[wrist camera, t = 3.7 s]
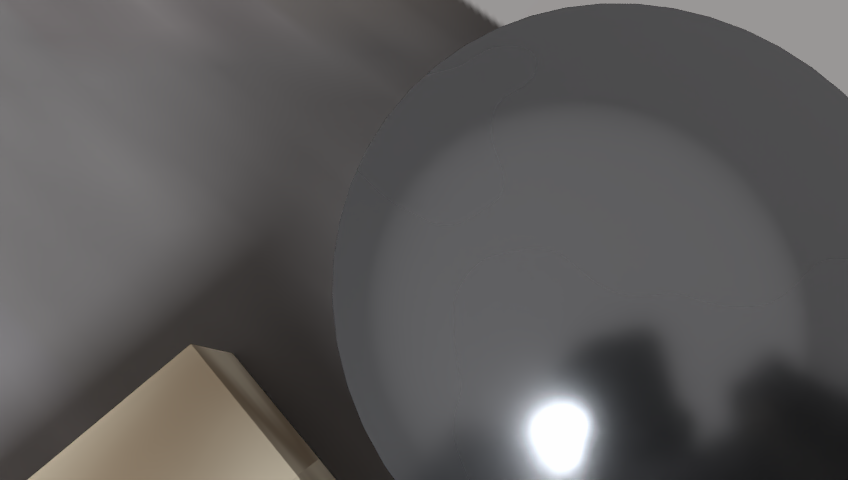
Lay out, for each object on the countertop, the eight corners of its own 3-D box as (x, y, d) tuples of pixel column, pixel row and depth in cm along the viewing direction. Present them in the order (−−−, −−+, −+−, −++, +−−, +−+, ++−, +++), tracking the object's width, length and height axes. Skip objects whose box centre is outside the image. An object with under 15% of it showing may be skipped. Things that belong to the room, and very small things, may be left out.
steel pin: (561, 371, 18) (1079, 304, 4) (456, 473, 17) (661, 801, 3) (464, 267, 18) (634, -94, 5) (359, 360, 18) (203, 252, 4)
